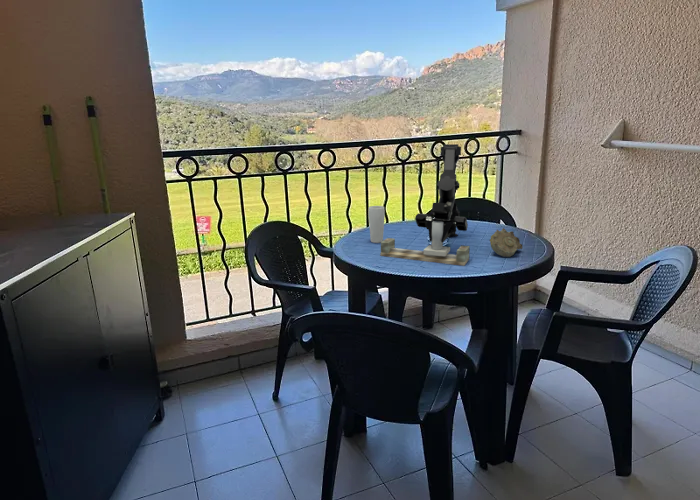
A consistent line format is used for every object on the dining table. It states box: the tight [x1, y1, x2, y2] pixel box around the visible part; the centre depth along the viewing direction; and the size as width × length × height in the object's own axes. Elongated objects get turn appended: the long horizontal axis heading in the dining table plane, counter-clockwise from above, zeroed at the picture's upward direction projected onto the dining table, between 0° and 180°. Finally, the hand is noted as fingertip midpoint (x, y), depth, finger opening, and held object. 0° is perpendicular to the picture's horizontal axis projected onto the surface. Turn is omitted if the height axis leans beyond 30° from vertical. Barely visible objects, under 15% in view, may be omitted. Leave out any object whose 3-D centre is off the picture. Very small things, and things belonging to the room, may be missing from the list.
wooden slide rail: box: [379, 237, 471, 267], centre depth 164 cm, size 32×8×6 cm, turn 63°
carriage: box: [423, 221, 451, 256], centre depth 160 cm, size 8×7×12 cm
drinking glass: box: [367, 205, 386, 244], centre depth 185 cm, size 7×7×15 cm
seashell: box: [489, 227, 523, 258], centre depth 166 cm, size 11×15×10 cm
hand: (436, 241), depth 159 cm, fingers closed on carriage, 4 cm apart
